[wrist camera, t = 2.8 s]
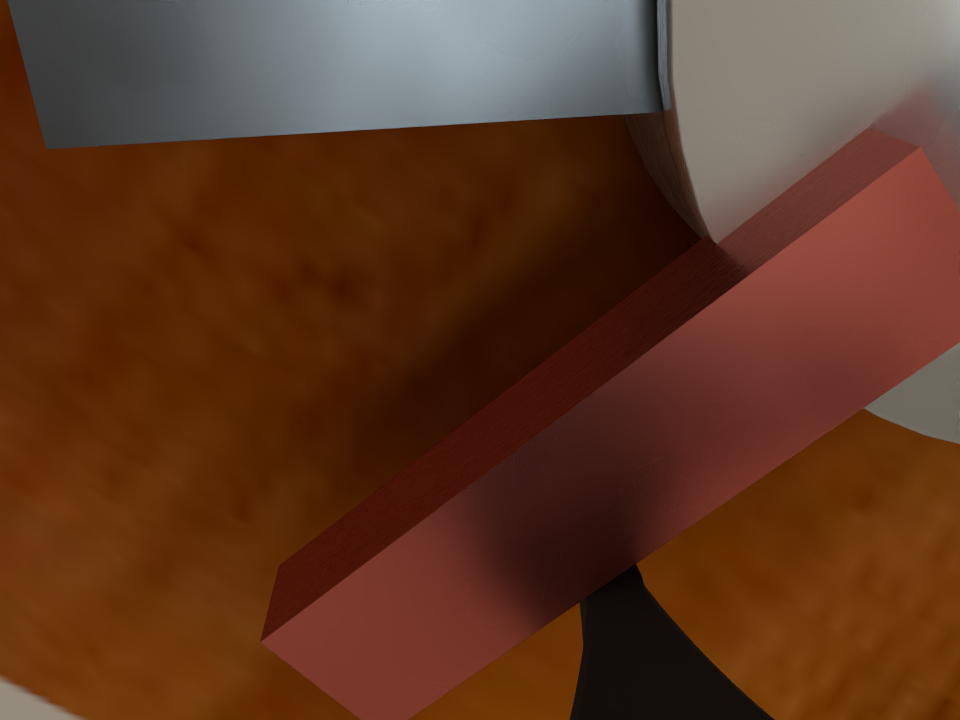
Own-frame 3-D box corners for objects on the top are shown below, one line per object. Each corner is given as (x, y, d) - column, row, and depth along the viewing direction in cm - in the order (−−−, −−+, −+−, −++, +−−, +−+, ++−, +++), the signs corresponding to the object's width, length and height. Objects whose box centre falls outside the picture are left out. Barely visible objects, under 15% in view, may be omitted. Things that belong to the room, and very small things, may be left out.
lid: (1636, -1255, 7) (2091, -1719, 5) (1786, 40, 11) (2053, 52, 9) (6, 320, 11) (-74, 386, 9) (574, 790, 16) (593, 897, 14)
